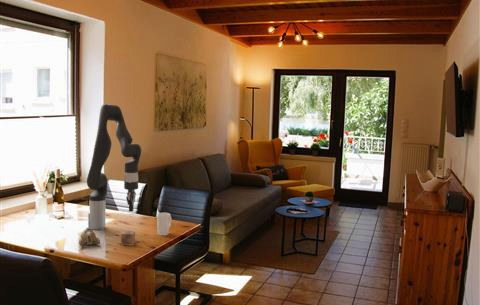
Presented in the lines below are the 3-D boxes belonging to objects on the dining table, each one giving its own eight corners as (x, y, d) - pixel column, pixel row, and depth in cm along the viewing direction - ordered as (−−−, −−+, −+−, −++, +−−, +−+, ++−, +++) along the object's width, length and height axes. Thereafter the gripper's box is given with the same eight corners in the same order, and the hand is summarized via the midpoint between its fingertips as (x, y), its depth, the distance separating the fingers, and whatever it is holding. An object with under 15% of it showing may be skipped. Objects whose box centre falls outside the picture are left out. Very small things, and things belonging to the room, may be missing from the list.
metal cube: (121, 244, 243) (121, 233, 242) (123, 241, 249) (124, 230, 248) (132, 245, 243) (132, 234, 242) (134, 241, 249) (134, 231, 248)
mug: (162, 236, 260) (163, 216, 258) (154, 234, 264) (154, 214, 262) (175, 232, 268) (175, 212, 267) (167, 230, 272) (167, 211, 270)
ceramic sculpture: (97, 223, 250) (101, 232, 236) (97, 238, 251) (101, 248, 238) (76, 225, 245) (79, 234, 232) (77, 240, 247) (79, 250, 233)
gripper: (127, 178, 255) (127, 208, 257) (121, 182, 242) (121, 213, 244) (140, 178, 255) (140, 208, 257) (135, 182, 242) (135, 214, 244)
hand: (131, 211), depth 250 cm, fingers closed
